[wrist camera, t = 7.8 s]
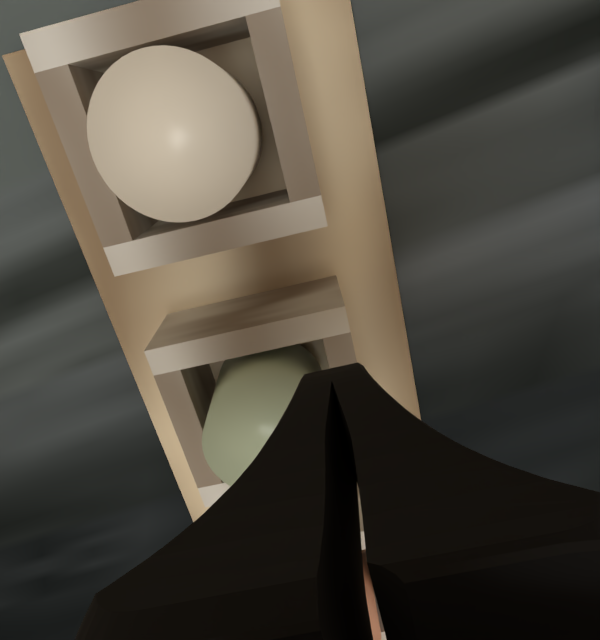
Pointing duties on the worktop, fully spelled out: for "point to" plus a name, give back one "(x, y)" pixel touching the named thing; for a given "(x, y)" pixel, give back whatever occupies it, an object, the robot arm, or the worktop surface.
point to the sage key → (250, 406)
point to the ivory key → (173, 133)
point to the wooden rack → (231, 211)
